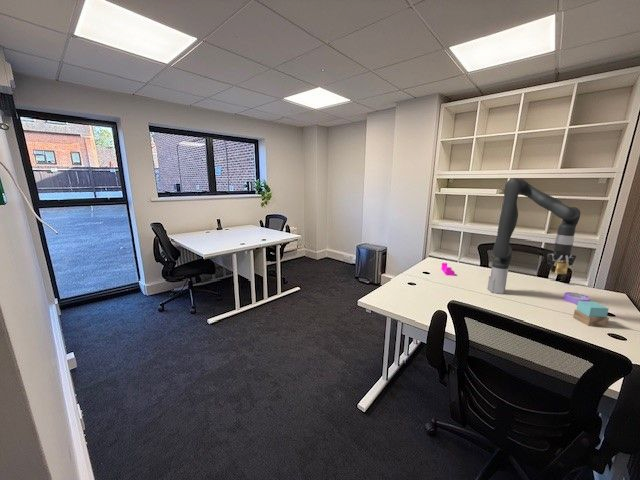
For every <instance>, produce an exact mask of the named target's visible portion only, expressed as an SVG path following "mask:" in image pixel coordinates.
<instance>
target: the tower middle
mask: <svg viewBox="0 0 640 480" xmlns="http://www.w3.org/2000/svg"><path fill="white" fill-rule="evenodd" d="M576 305H577V304H576ZM575 310H578V311H580V312H582V313H584V314H585V315H587V316H589V317H606V318H607V316H608V313H609V308H608V307H606V306H604V305H602V304H600V303H599V302H596V301H590V302H587V301H578V305H577V306H576V308H575Z"/></svg>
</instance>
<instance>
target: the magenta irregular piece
mask: <svg viewBox="0 0 640 480" xmlns="http://www.w3.org/2000/svg"><path fill="white" fill-rule="evenodd" d="M440 270H441V271H442V272H443V273H444V275H445V276H451V277H452V276H453V277H455V273H456V272H455V271H454V270H453V269H452V267H449V266H448V263H447V262H441V269H440Z"/></svg>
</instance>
